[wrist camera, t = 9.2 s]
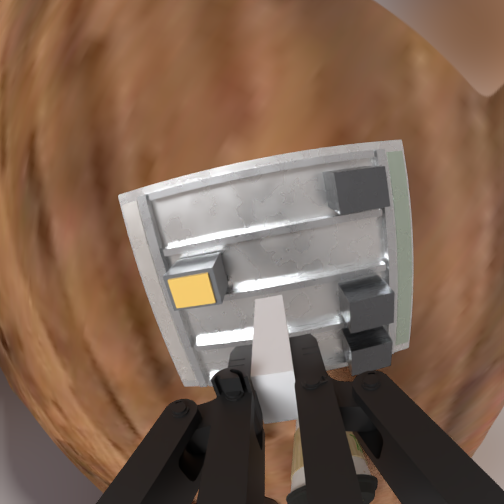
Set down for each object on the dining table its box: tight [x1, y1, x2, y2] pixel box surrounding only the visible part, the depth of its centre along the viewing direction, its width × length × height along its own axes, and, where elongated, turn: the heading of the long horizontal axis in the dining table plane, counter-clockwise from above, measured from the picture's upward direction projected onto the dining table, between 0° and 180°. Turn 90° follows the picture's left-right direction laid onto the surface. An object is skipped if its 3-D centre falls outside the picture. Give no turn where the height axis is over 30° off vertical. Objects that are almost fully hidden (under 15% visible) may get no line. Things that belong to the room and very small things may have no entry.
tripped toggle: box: [163, 252, 228, 311], centre depth 23 cm, size 4×3×4 cm
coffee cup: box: [286, 419, 378, 504], centre depth 25 cm, size 10×10×15 cm
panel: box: [118, 140, 413, 387], centre depth 24 cm, size 26×22×6 cm
